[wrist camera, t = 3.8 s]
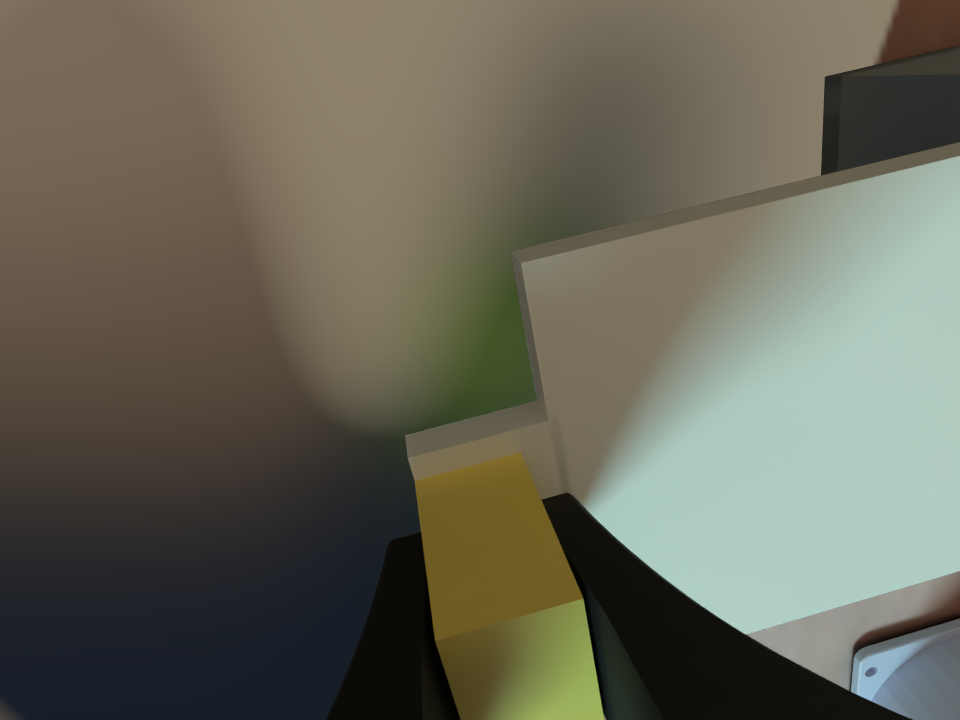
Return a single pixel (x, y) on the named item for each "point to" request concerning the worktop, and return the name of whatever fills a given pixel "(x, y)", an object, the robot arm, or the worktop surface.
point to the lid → (709, 425)
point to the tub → (891, 110)
